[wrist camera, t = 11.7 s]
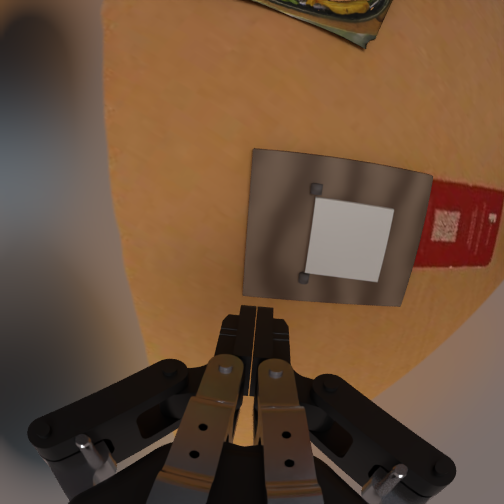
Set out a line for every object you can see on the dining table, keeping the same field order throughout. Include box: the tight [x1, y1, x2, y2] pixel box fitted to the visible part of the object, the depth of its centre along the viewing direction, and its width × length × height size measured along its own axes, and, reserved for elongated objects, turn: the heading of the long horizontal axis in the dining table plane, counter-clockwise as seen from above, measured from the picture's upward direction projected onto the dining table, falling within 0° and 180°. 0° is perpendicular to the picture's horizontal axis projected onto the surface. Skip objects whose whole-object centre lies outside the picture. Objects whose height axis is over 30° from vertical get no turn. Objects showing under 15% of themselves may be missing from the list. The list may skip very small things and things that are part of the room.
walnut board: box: [243, 148, 433, 307], centre depth 39 cm, size 24×20×3 cm
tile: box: [305, 197, 394, 282], centre depth 38 cm, size 10×10×1 cm
